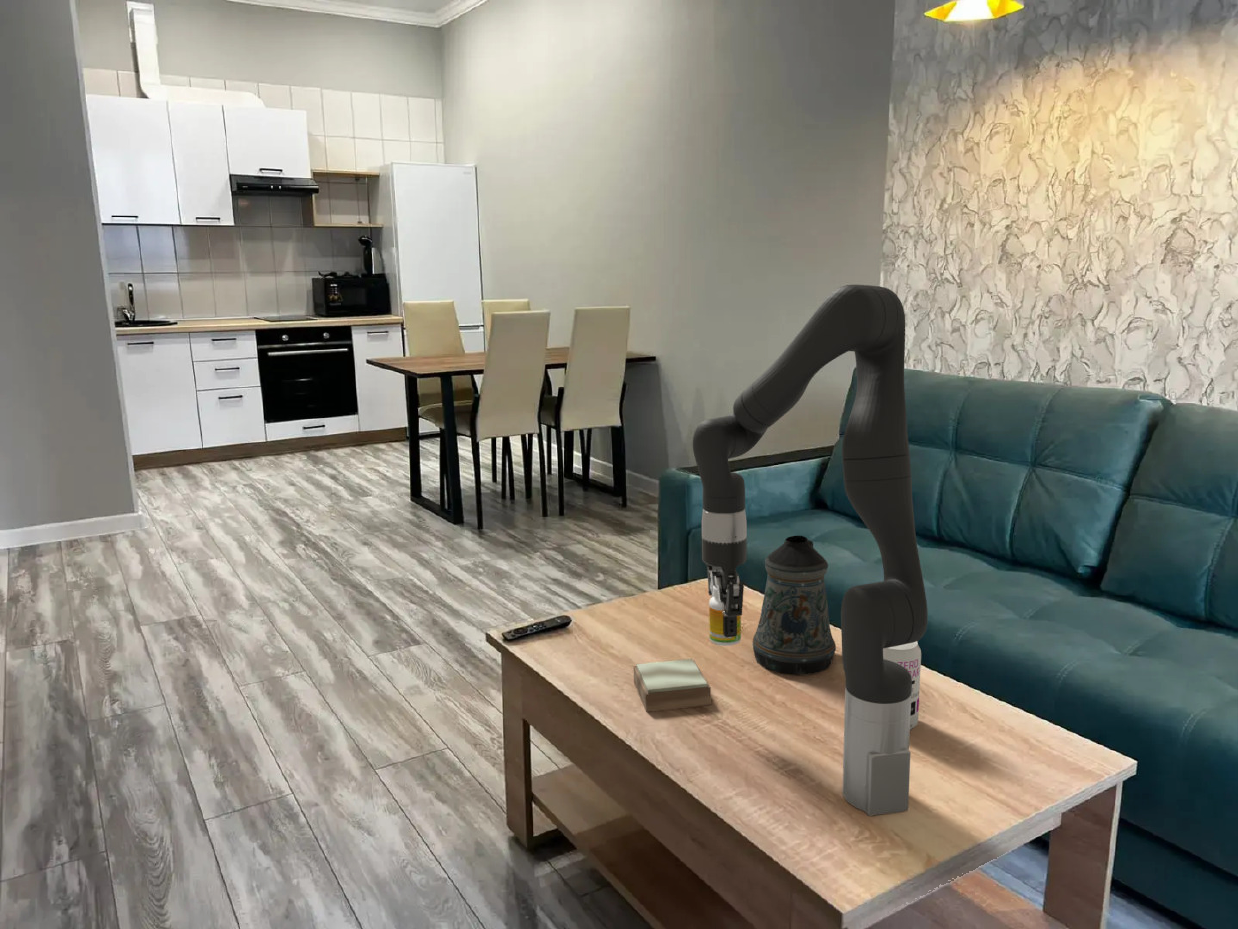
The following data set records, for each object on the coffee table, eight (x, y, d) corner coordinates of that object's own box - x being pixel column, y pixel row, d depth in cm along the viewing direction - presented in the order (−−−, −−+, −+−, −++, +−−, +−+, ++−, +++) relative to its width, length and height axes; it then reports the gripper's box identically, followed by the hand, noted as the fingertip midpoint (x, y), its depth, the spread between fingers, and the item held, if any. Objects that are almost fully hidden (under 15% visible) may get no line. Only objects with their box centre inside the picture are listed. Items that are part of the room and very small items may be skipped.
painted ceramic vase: (759, 677, 171) (759, 554, 165) (745, 637, 190) (745, 525, 184) (844, 675, 170) (847, 552, 165) (822, 635, 189) (824, 523, 184)
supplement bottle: (739, 647, 148) (739, 592, 146) (707, 645, 149) (707, 591, 147) (741, 635, 153) (741, 582, 151) (711, 633, 154) (710, 581, 152)
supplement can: (883, 706, 158) (885, 627, 155) (926, 721, 152) (930, 640, 149) (859, 722, 152) (861, 641, 149) (903, 739, 146) (907, 655, 143)
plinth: (710, 705, 160) (710, 684, 159) (646, 712, 158) (645, 691, 157) (694, 676, 172) (694, 657, 171) (633, 682, 170) (633, 663, 169)
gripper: (759, 544, 141) (759, 643, 144) (732, 522, 155) (733, 612, 158) (714, 548, 140) (715, 648, 143) (691, 525, 154) (693, 616, 157)
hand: (724, 629), depth 151 cm, fingers closed on supplement bottle, 5 cm apart
